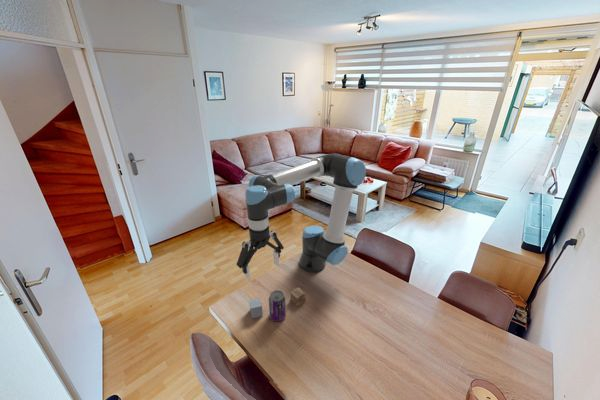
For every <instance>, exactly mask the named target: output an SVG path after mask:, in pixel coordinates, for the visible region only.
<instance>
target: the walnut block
mask: <svg viewBox="0 0 600 400" xmlns="http://www.w3.org/2000/svg"><path fill="white" fill-rule="evenodd" d="M289 294H290V298H289V299H290V301H291V302H292V303H293V304H294V305H295V306H297V307H298V306H300V305H301V304H303V303H304V302H305V301H306V292H305V291H303V290H302V289H301V288H300V287H297V288H294V289H293V290H292V291H290V293H289Z"/></svg>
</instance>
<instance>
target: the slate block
mask: <svg viewBox="0 0 600 400" xmlns="http://www.w3.org/2000/svg"><path fill="white" fill-rule="evenodd" d="M248 304H249V310H250V317H251V319H255V318H260V317H264V316H263V315H264V314H263V305H262V304H263V303H262V301H261V297H257V298H253V299H249V300H248Z"/></svg>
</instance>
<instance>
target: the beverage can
mask: <svg viewBox="0 0 600 400" xmlns="http://www.w3.org/2000/svg"><path fill="white" fill-rule="evenodd" d="M286 306H287V305H286V296H285V294H284V292H283V291H282V290H279V289H277V290H273V291H271V292H270V294H269V297H268V308H269V309H268V310H269V318H270V320H272V321H274V322H280V321H281V322H282V321H283V320H284V319H285V318H286V315H287V311H286Z"/></svg>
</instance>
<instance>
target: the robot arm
mask: <svg viewBox="0 0 600 400" xmlns="http://www.w3.org/2000/svg"><path fill="white" fill-rule="evenodd" d="M366 175H367V168H366V165H365V163H364V161H362V160H361V159H358V158H356V157H353V156H349V155H343V154H340V153H335V152H334V153H326V154H322V155H318V156H316V157H313V158H312V159H311V160H310V161H307V162H304V163H302V164H299V165H295V166H291V167H289V168H286V169H283V170H281V171H277V172H274V173H270V174H268V175H265V176H262V175H257V174H256V175H253V176H252V177H251V178H250V179H249V182H248V187H247V188H246V190H245V204H246V205H245V207H246V213H247V223H248V231H249V232H248V233H249V234H248V235H249V241H247V242H246V241H243V242H242V246H241V250H240V253H239V255H238V259H237V261H236V266H237V267H238V268H239V269H241V270H242V271H241V272H242V273H243V274H244V277H245V278H246V280H247V281H251V274H250V266H249V264H250V262H251V260H252V258H253V257H254V255H255V253H257V252H258V250H260V249H263V248H265V247H266V246H268V247H270V248H272V249H273V251H272V255H273V264H274V265H275V266H277V267H279V266H280V257H281V253H282V250H283V249H284V248H285V247H284V246H283V243H282V242H281V241H280V239H279V238H278V236H277V232H275V231H274V230H270V223H269V222H270V221H269V210H272V209H274V208H278V207H282V206H284V205H287V204H289V203H292V202H293V201H295V198H296V190H295V188H294V187H293V185H296V184H298V183H301V182H305V181H307V180H309V179H311V178H315V177H316V178H320V177H323V176H324V177H325V176H326V177H331V178H333V180H332V181H333V182H332V185H333V186H334V192H333V198H332V202H331V209H330V213H329V217H328V223H327V227H326V231H325V229H324V227H323V226H319V225H310V226H307V227H305V228H304V229H303V230H302V237H301V238H302V252H301V255H300V257H299V261H298V262H299V267H300V268H301V269H302V270H303V271H305V272H306V271H307V272H309V273H315V272H316V273H317V272H321V271H322V270H324V269H325V268H326V265H327V264H326V263H328V264H330V265H332V266H337V265H339V264H341V263H342V262H343V261H344V260H345V259H346V257H347V255H348V251H349V248H348V247H347V245H346V244H345V243H346V238H345V236H344V235H345V234H344V233H345V230H346V225H347V224H346V223H347V220H348V216H349V213H350V212H349V211H350V205H351V202H352V198H353V193H354V191H355V190H356V189H358V186H361V185H362V184H363V181H365V178H366ZM271 238H272V239H273V241H274V243H275V244H276V245H277V246H276V245H274V244H273V243H272V242H270V239H271Z"/></svg>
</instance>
